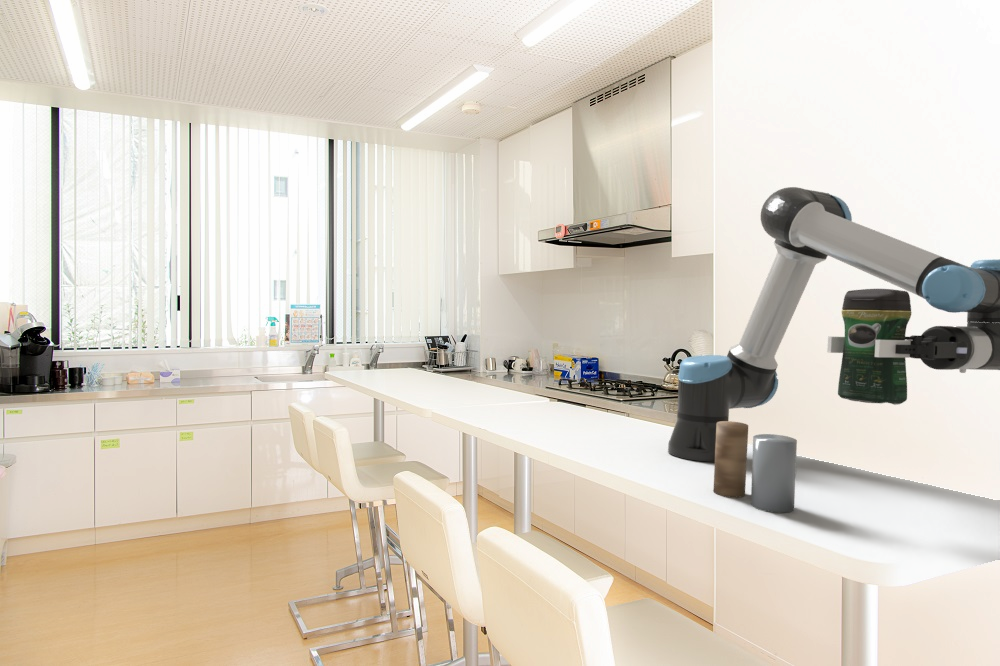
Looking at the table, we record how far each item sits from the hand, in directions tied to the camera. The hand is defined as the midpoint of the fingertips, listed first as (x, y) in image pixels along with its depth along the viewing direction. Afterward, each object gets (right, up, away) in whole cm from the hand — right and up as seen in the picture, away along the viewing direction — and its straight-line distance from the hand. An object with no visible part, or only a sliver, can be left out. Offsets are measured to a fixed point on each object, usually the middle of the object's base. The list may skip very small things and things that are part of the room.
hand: (852, 346), depth 105 cm
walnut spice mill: (-14, -28, +17) cm, 35 cm away
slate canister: (-9, -28, +9) cm, 31 cm away
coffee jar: (+4, -9, +2) cm, 10 cm away
